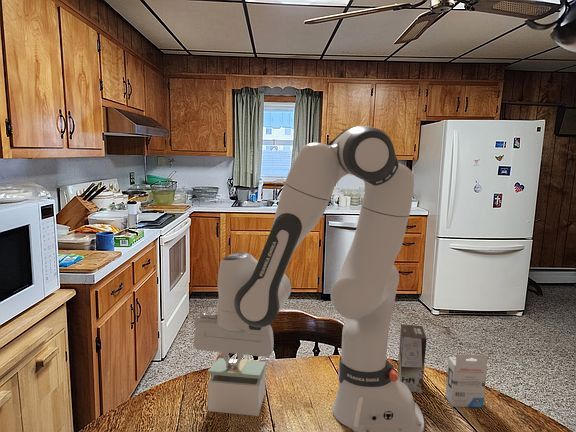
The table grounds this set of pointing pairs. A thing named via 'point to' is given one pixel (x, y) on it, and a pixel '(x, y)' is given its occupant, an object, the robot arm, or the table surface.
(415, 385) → the coffee box
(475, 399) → the ink box
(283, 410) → the table surface
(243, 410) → the storage box
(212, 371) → the box lid
